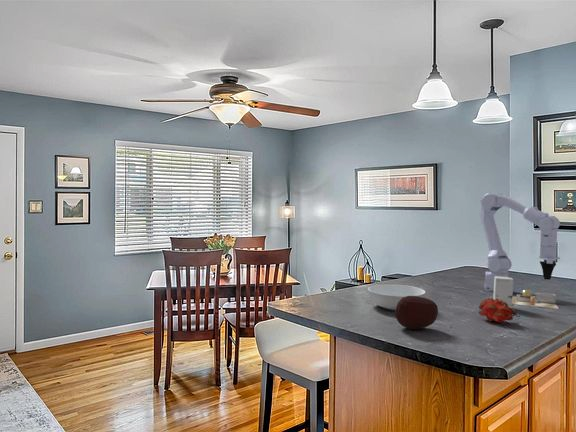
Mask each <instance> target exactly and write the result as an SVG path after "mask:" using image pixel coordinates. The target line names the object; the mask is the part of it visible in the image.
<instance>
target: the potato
mask: <svg viewBox="0 0 576 432" xmlns="http://www.w3.org/2000/svg"><path fill="white" fill-rule="evenodd" d="M394 311H395V312H394V313H395V314H394V315H395V318H396V320H397V322H398V323H399V325H401V327H403V328H407V329H409V330H419V329H424V328H427V327H429V326H431V325H432V324H434V323H435V322H436V320H437V318H438V316H439V315H438V313H439V309H438V305H437V303H436V302H435V301H434V300H432V299H430V298H427V297H425V298H423V297H418V296H406V297H403V298H402V299H401V300H400V301H399V302H398V304H397V306H396V310H394Z"/></svg>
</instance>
